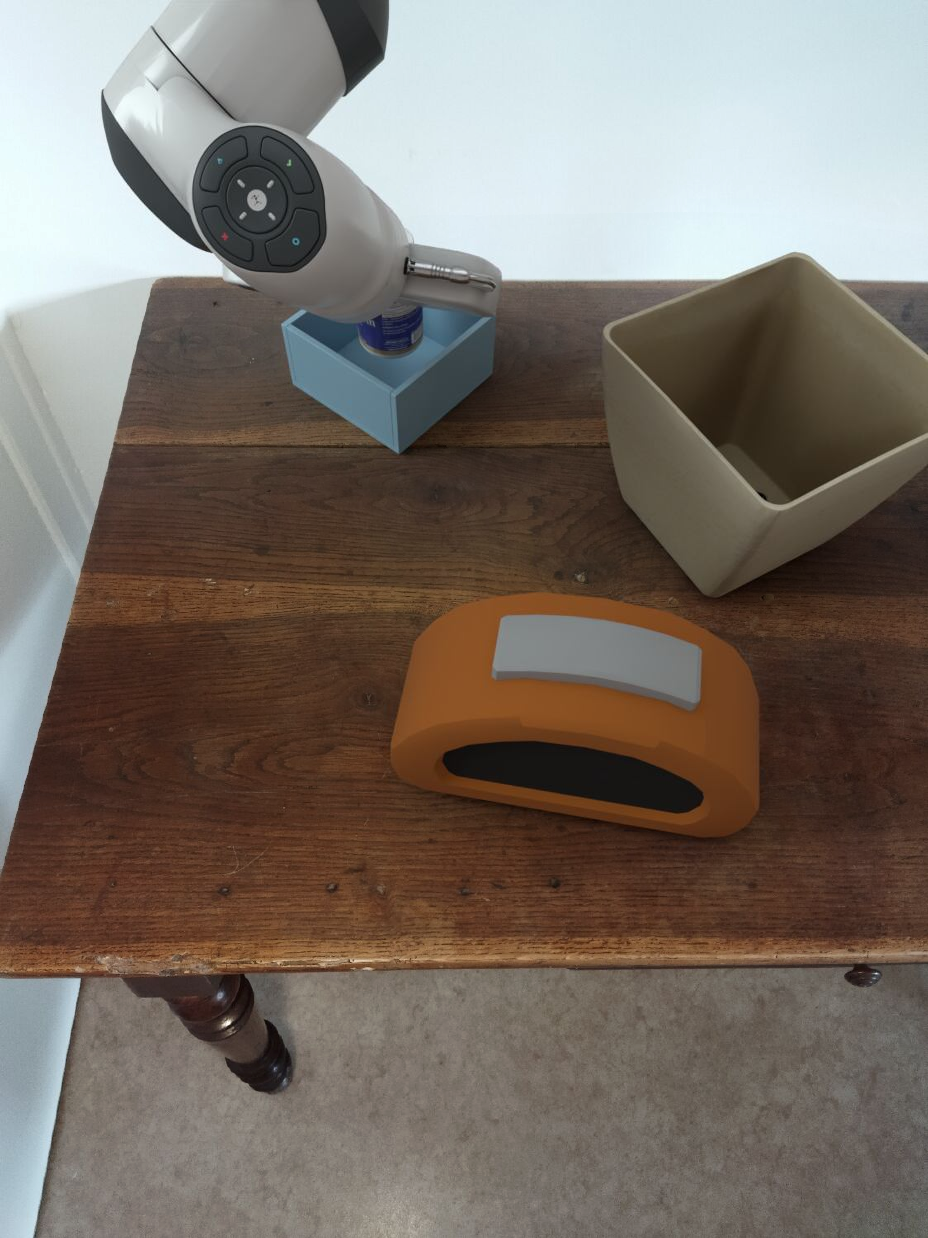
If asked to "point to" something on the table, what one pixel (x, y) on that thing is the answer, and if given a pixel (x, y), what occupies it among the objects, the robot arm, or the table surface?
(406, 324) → the pill bottle
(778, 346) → the flower pot
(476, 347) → the open box
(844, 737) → the table surface
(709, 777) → the alarm clock
